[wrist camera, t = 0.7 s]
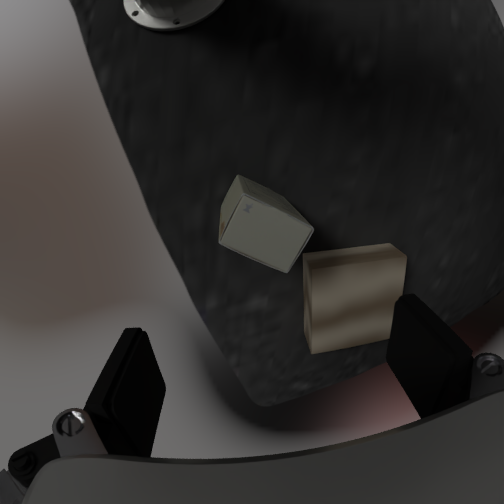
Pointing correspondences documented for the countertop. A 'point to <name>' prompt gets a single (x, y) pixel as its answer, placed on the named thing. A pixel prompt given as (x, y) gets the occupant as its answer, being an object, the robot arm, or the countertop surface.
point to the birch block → (351, 295)
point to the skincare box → (262, 225)
